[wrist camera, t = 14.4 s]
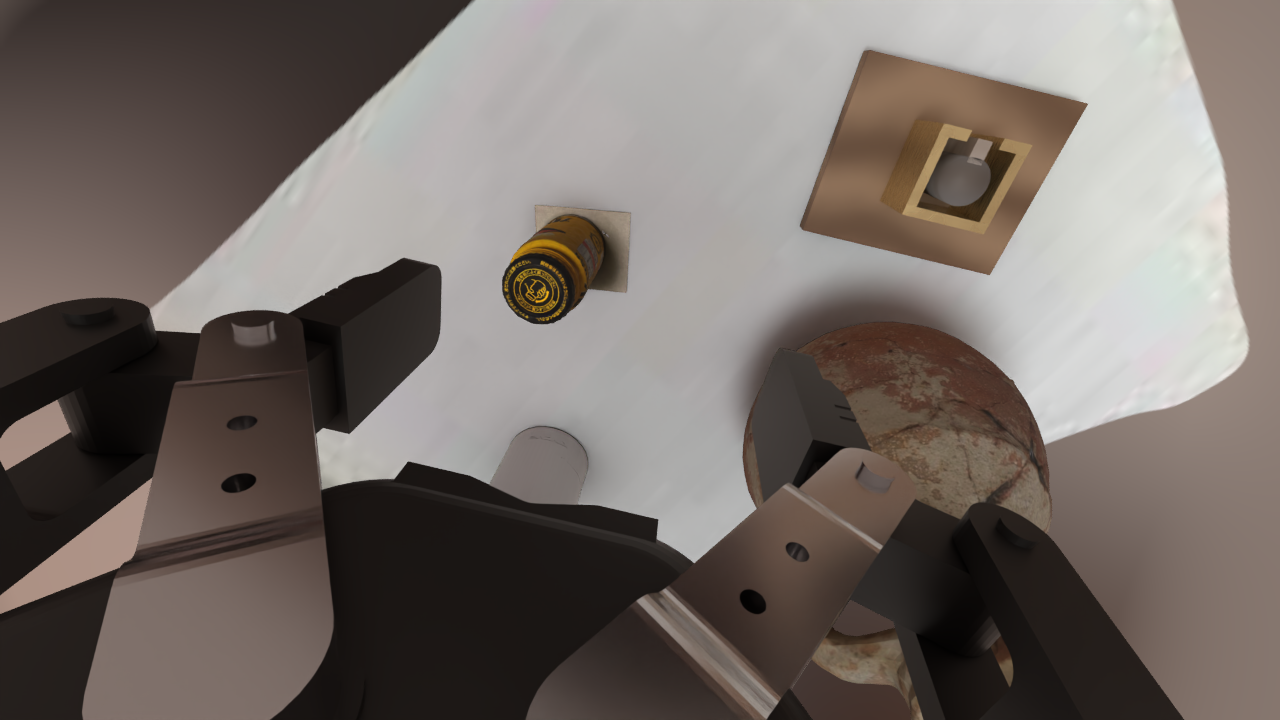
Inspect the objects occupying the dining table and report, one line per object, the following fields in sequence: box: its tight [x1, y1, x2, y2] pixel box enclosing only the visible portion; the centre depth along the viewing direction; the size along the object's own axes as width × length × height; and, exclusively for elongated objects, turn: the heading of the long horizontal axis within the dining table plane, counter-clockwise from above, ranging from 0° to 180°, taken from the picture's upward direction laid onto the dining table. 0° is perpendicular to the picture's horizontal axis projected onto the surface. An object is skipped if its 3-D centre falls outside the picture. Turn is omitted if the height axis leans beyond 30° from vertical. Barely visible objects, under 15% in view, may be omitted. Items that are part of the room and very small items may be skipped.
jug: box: [743, 322, 1052, 720], centre depth 37 cm, size 22×22×30 cm
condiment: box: [502, 205, 630, 324], centre depth 41 cm, size 7×8×12 cm
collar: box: [880, 120, 1033, 234], centre depth 37 cm, size 6×6×5 cm
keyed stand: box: [800, 50, 1088, 275], centre depth 37 cm, size 13×16×6 cm
